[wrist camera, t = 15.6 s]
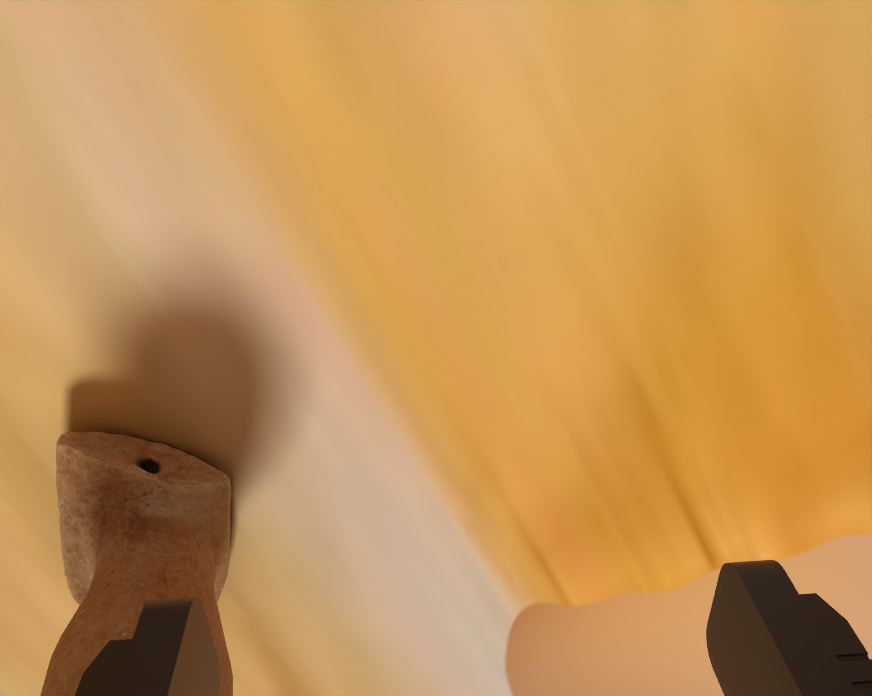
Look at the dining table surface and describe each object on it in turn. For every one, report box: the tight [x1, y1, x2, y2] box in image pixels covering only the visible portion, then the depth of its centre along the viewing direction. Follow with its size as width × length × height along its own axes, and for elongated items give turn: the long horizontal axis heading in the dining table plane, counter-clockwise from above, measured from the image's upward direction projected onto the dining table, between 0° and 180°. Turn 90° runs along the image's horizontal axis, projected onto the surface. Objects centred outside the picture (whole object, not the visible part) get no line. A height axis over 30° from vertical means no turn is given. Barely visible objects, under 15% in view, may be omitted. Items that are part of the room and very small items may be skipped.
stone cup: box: [41, 432, 233, 696], centre depth 41 cm, size 15×12×15 cm
